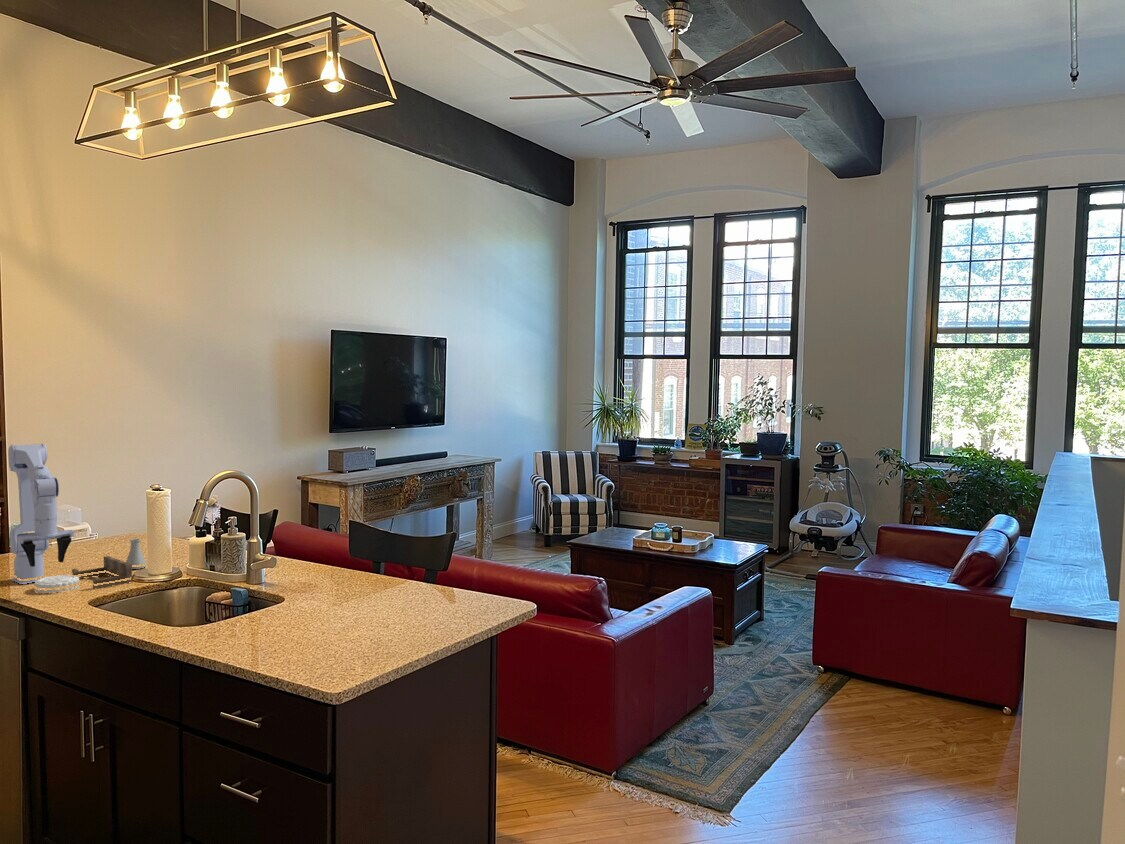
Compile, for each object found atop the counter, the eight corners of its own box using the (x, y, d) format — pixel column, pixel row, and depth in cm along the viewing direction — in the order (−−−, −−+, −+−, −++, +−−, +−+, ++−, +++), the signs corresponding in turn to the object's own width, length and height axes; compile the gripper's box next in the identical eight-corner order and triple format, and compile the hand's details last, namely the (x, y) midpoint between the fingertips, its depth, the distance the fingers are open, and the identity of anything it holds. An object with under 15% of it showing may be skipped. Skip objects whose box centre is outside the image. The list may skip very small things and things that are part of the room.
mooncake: (35, 596, 248) (35, 585, 248) (33, 588, 257) (32, 577, 257) (81, 591, 255) (81, 579, 255) (77, 583, 264) (77, 572, 264)
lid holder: (71, 579, 267) (70, 561, 267) (108, 573, 276) (108, 556, 276) (93, 589, 256) (93, 570, 255) (132, 582, 264) (131, 564, 264)
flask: (151, 566, 288) (151, 537, 287) (139, 571, 281) (138, 541, 280) (132, 565, 288) (131, 537, 288) (119, 570, 281) (118, 541, 281)
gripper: (22, 523, 238) (23, 570, 239) (77, 517, 249) (78, 561, 250) (14, 520, 243) (15, 566, 243) (68, 514, 254) (69, 558, 255)
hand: (46, 563), depth 247 cm, fingers open, 7 cm apart
